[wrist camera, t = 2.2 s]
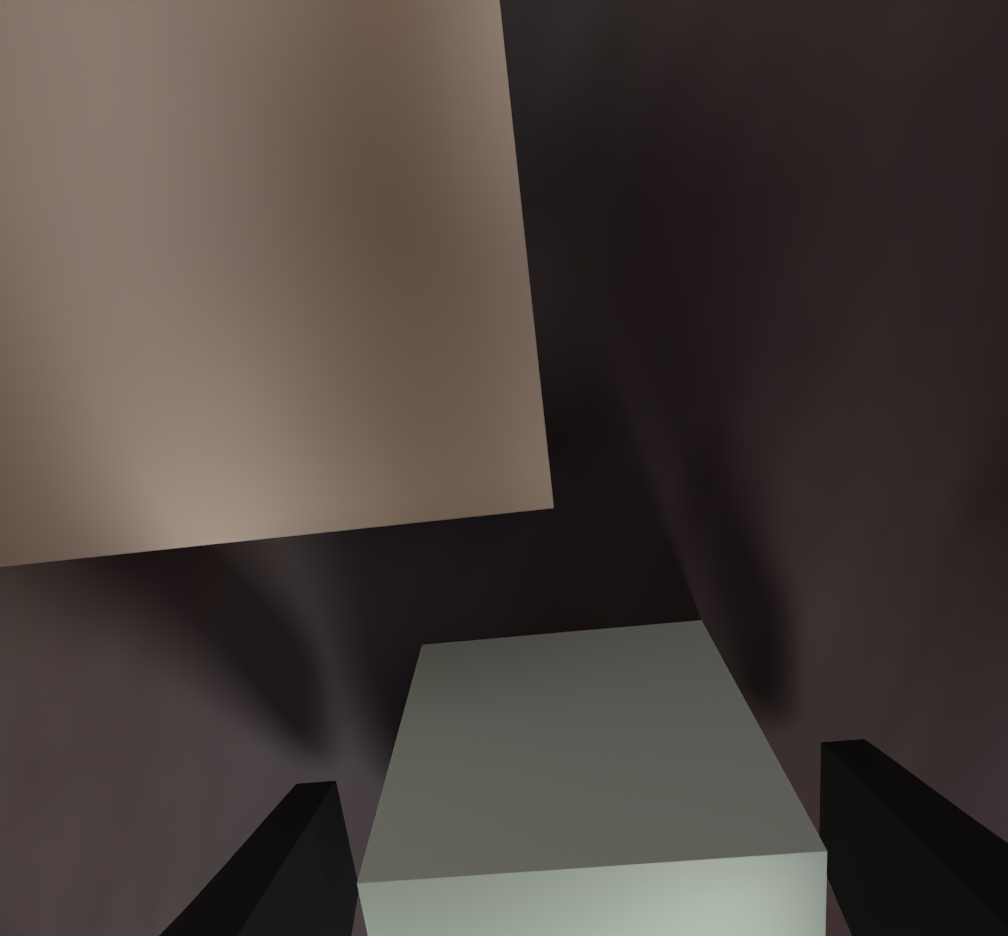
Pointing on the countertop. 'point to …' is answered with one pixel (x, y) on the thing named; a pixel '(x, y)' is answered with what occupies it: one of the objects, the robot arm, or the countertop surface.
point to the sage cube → (587, 797)
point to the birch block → (259, 273)
